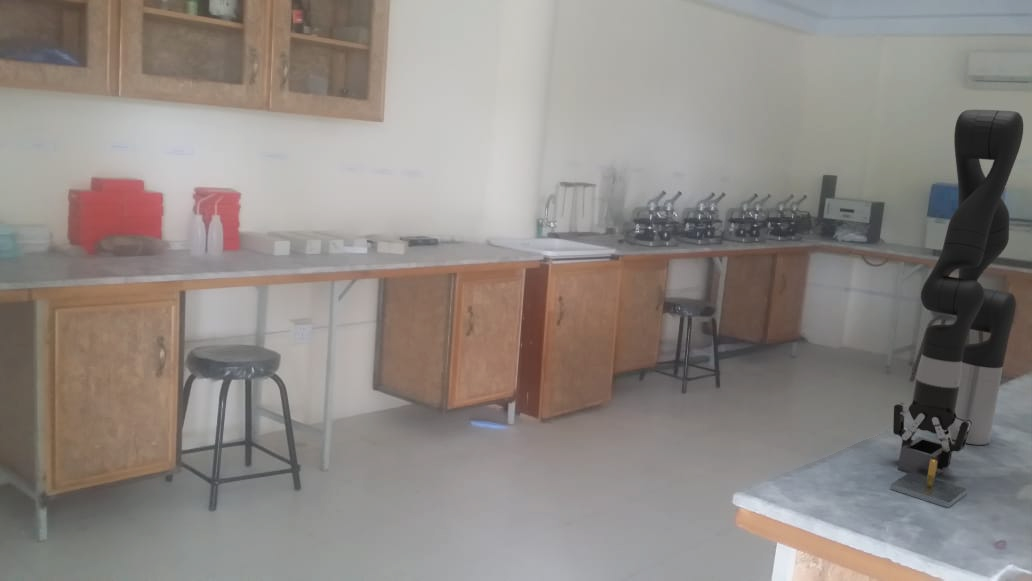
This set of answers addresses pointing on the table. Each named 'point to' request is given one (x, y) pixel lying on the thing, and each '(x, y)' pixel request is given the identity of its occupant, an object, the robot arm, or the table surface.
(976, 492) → the table surface
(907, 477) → the peg plate
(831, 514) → the table surface
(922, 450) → the grey storage bin
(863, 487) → the table surface
